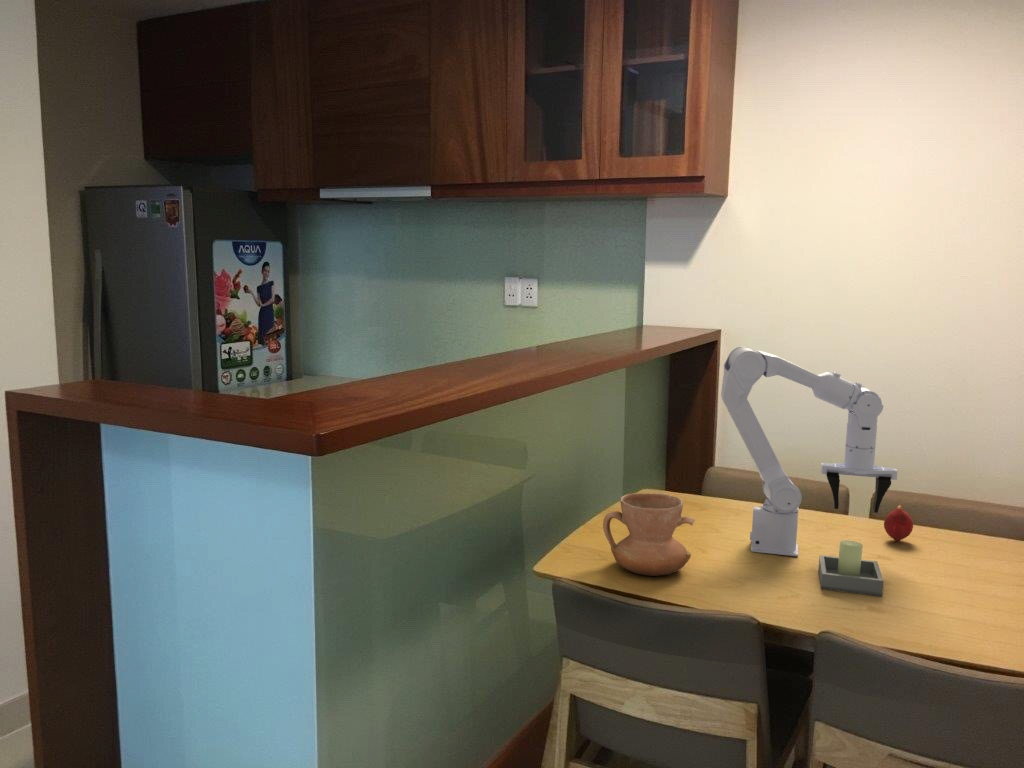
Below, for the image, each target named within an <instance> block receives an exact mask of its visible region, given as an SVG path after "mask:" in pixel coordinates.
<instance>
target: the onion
mask: <svg viewBox="0 0 1024 768" xmlns="http://www.w3.org/2000/svg"><path fill="white" fill-rule="evenodd" d="M883 528H884V530H885V532H886V534H887V535H888V536H889V537H890V538H891V539H892V540H893V541H895V542H901V541H902V540H904V539H906V538H907V537H909V536H910V535H911V533H912V532H913V528H914V521H913V519H912V518H911V516H910V515H909V513H907V512H906V511H904V510H903V506H902V505H900V504H899V505H898V506H897V507H896V509H894V510H892V511H890V512H888V514H887V515H886V517H885V518H884V521H883Z"/></svg>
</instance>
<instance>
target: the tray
mask: <svg viewBox="0 0 1024 768" xmlns="http://www.w3.org/2000/svg"><path fill="white" fill-rule="evenodd" d="M838 560H839V556H831V555H822V554H819V557H818V576H819V584H821V585H820V589H821V590H824V589H825V590H826V591H832V592H833V591H834V592H840V593H841V592H842V593H848V594H849V593H850V594H859V595H865V596H866V595H867V596H875V597H883V593H884V592H883V591H884V584H885V583H884V582H885V581H884V577H883V575H882V572H881V568H880V565H879V563H878V562H879V561H877V560H869V559H861V569H860V577H858V576H849V575H840V574H837V572H838ZM825 590H824V591H825Z"/></svg>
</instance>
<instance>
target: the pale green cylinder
mask: <svg viewBox="0 0 1024 768" xmlns="http://www.w3.org/2000/svg"><path fill="white" fill-rule="evenodd" d="M838 557H839V560H838V572H837V574H840V575H849V576H858V577H860V569H861V560H862V557H863V544H862V543H861V542H858V541H854V540H841V541H840V542H839V551H838Z"/></svg>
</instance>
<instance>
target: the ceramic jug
mask: <svg viewBox="0 0 1024 768" xmlns="http://www.w3.org/2000/svg"><path fill="white" fill-rule="evenodd" d="M683 506H684V502H683V499H681V498H680V497H679V496H675V495H670V494H666V493H661V492H660V493H659V492H658V493H657V492H656V493H653V492H652V493H651V492H647V493H644V492H636V493H628V494H624V495H622V496H621V497H620V510H621V511H619V510H612V511H610V512H607V514H605V516H604V517H603V521H602V528H603V533H604V536H605V537H606V538H605V539H607V541H608V544H609V545H610V550H611V553H612V556H613V557H614V559H615V561H616V563H617V564H618V565H619V566H620V567H622V568H623V569H625V570H627V571H629V572H631V573H634V574H638V575H641V576H653V577H654V576H655V577H657V576H658V577H659V576H666V575H670V574H673V573H675V572H678V571H679V570H681V569H683V567H684V566H685V565H686V564H687V563H688V562H689V561H690V559H691V555H692V554H691V552H690V551H689V550H687V548H686V547H685V546H684V545H683V544H682V543H681V542H680V541H679V540H677V539H676V538H675V537H674V536H673V535H674V532H675V531H676V529H677V528H678V527H680V526H682V525H684V524H687V525H690V526H692V527H693V525H694V523H695V521H696V519H695V518H694V517H691V516H682V513H683ZM613 519H616V520H617V521H620V523H622V524H623V525H625V526H626V527H627V531H628V533H629V534H628V535H627V536H626V537H623V539H621V540H620V541H619V542H617V543H616V542H615V540H614V538H613V535H612V531H611V521H612V520H613Z"/></svg>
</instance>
